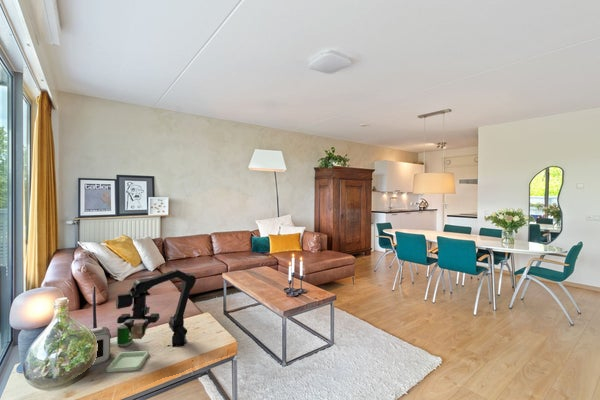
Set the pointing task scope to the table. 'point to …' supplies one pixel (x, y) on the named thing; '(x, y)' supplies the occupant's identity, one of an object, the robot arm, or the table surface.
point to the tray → (128, 361)
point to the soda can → (123, 335)
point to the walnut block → (137, 331)
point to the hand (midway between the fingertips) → (138, 334)
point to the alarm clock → (102, 344)
